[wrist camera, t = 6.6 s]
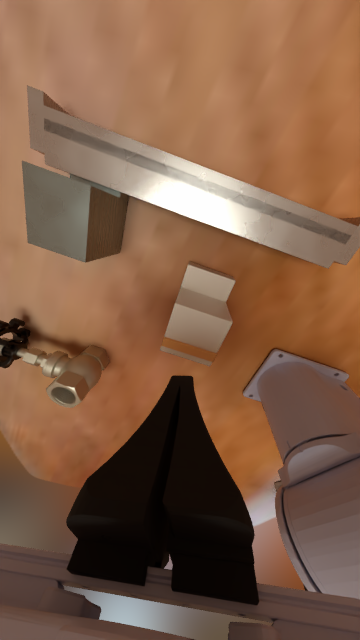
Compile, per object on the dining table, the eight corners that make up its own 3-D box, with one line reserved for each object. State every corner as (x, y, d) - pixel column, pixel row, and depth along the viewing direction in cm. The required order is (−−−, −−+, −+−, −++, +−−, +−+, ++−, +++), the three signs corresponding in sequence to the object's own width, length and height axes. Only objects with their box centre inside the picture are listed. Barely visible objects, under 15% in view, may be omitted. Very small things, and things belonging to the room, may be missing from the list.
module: (232, 276, 18) (247, 297, 12) (207, 331, 21) (210, 367, 15) (189, 261, 17) (184, 275, 12) (170, 319, 20) (159, 351, 15)
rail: (346, 223, 15) (428, 219, 9) (287, 311, 19) (322, 344, 13) (60, 113, 14) (-30, 38, 8) (60, 232, 17) (-2, 232, 12)
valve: (116, 342, 23) (22, 308, 22) (87, 381, 17) (-43, 336, 16) (107, 377, 26) (24, 348, 25) (79, 421, 20) (-31, 384, 19)
